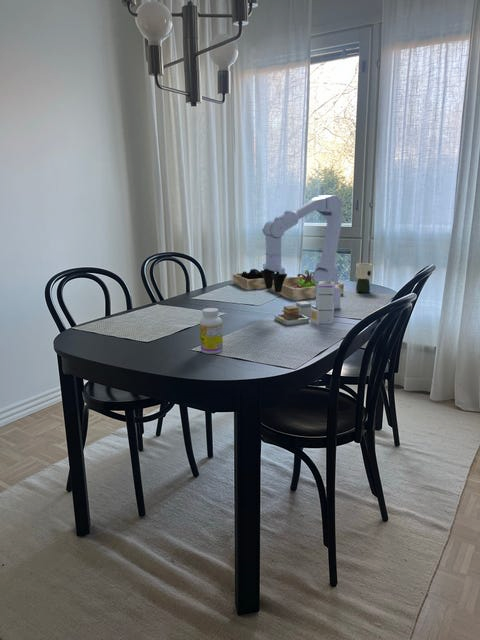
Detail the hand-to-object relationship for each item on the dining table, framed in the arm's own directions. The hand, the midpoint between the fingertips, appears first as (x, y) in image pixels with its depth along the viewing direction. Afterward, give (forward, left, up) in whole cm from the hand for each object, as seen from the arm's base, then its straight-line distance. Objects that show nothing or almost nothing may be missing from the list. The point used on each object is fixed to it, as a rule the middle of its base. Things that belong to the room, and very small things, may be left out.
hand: (273, 290), depth 179 cm
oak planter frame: (-32, -32, -10) cm, 46 cm away
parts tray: (-2, +10, -10) cm, 14 cm away
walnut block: (-2, +10, -10) cm, 14 cm away
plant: (-33, -31, -10) cm, 46 cm away
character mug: (-56, -20, -10) cm, 60 cm away
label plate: (-8, +16, -10) cm, 21 cm away
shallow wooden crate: (-20, -58, -10) cm, 62 cm away
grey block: (-10, +5, -10) cm, 15 cm away
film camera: (-18, -56, -10) cm, 60 cm away
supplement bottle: (+35, +29, -10) cm, 47 cm away
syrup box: (-13, +16, -10) cm, 23 cm away
